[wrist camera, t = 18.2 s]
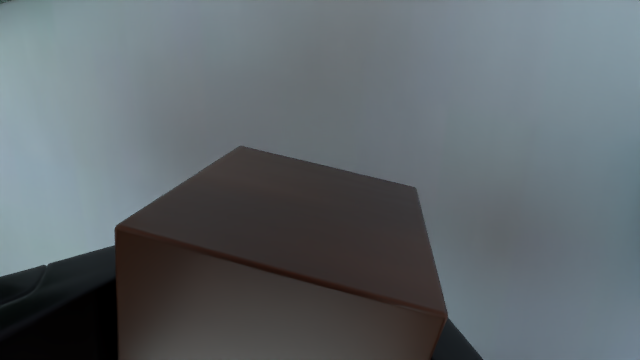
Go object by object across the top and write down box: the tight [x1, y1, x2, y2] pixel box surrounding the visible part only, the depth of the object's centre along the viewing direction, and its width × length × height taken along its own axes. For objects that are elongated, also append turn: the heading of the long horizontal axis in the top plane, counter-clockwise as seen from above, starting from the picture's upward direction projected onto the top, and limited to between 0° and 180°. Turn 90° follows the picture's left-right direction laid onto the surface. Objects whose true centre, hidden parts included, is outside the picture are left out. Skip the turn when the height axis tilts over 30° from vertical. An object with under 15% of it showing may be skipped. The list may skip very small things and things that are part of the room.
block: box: [115, 146, 448, 360], centre depth 7 cm, size 4×4×4 cm
